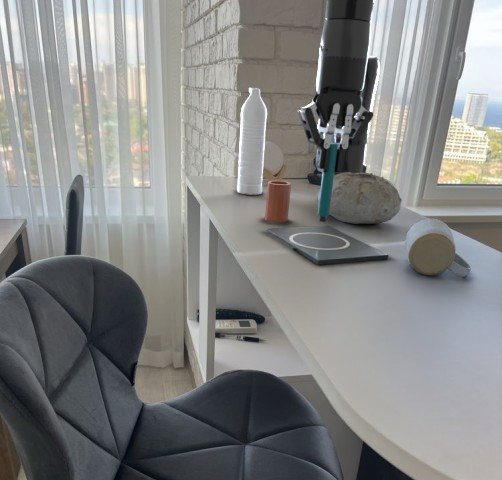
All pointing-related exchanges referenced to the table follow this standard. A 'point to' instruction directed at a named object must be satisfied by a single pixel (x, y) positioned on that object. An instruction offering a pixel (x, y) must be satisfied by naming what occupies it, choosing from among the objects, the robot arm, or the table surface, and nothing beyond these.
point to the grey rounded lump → (363, 198)
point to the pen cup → (277, 201)
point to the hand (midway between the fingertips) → (328, 171)
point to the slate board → (327, 245)
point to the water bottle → (252, 144)
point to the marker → (327, 184)
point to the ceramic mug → (433, 249)
